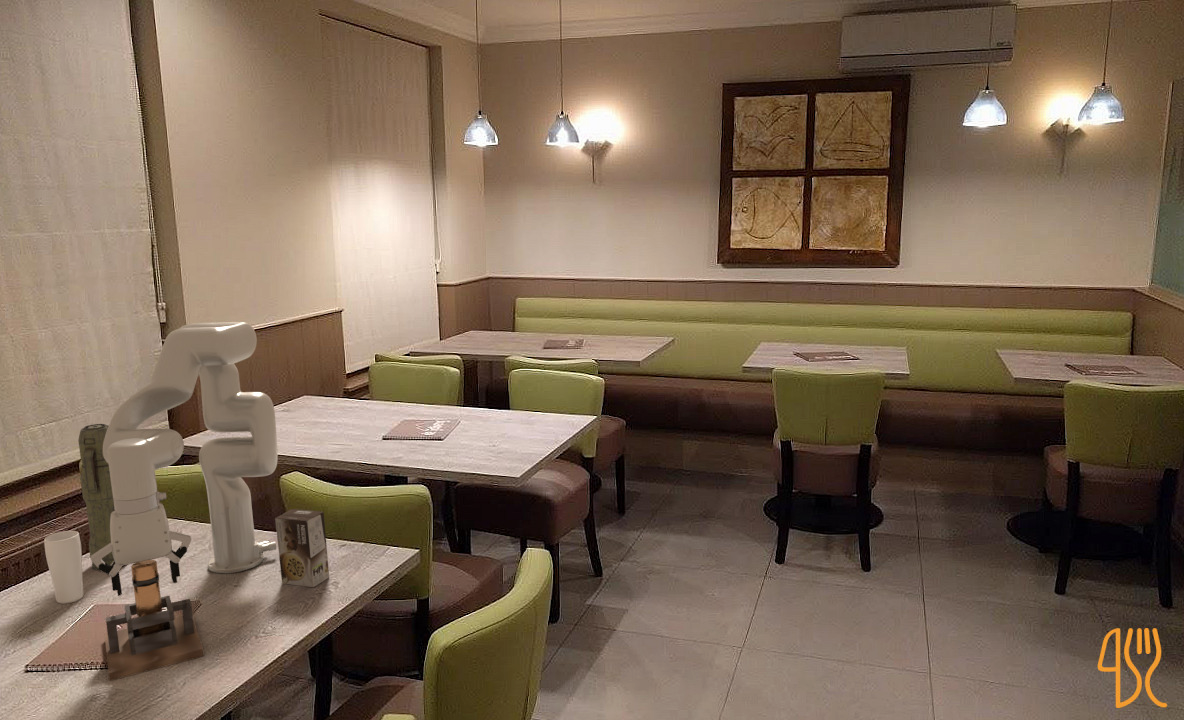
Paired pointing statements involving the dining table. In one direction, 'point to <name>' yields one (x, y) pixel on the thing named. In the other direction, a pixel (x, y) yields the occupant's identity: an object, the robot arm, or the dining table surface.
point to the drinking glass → (65, 565)
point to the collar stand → (151, 639)
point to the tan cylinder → (147, 593)
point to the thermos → (96, 488)
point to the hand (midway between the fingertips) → (147, 586)
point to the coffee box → (302, 547)
